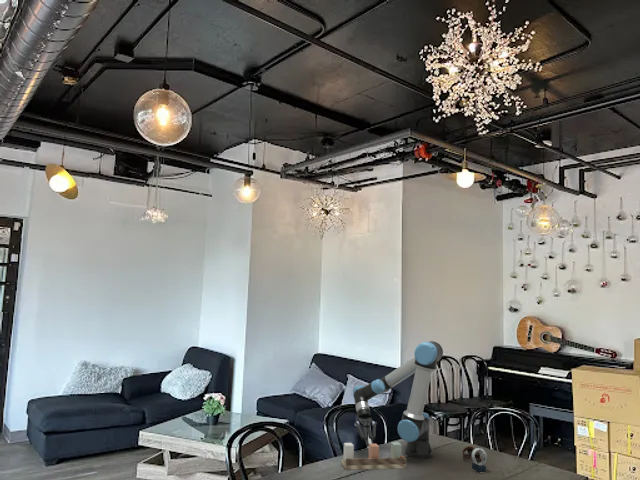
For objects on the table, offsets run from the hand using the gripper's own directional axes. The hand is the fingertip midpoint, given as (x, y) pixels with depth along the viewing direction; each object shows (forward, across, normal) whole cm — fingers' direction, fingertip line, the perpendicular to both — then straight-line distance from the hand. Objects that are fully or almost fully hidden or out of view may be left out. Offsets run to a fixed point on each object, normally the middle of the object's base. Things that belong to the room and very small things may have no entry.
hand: (371, 451), depth 249 cm
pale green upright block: (+4, -13, -2) cm, 14 cm away
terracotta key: (+5, 0, 0) cm, 5 cm away
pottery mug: (+3, -59, -6) cm, 59 cm away
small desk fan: (+15, -53, +6) cm, 56 cm away
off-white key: (+4, +13, -1) cm, 13 cm away
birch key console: (+7, 0, -2) cm, 7 cm away
